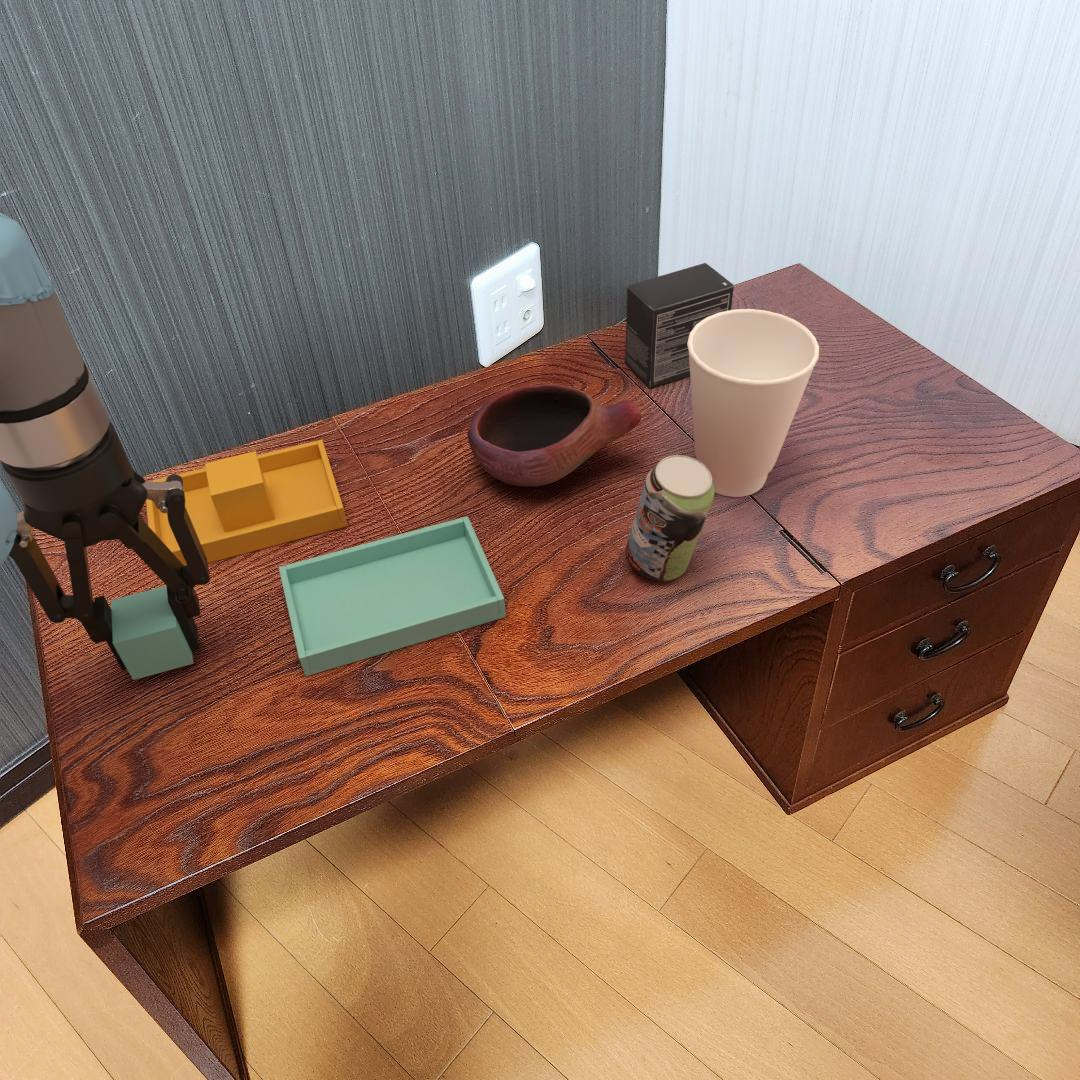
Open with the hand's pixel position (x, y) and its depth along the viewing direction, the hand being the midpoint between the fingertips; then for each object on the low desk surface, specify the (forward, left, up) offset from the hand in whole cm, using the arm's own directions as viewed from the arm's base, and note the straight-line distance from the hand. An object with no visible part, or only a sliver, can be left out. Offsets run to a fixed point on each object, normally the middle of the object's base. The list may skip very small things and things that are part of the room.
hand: (160, 647), depth 81 cm
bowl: (+40, +12, -2) cm, 42 cm away
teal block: (0, 0, 0) cm, 0 cm away
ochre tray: (+9, +16, -2) cm, 18 cm away
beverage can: (+45, -6, -2) cm, 46 cm away
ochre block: (+9, +16, -1) cm, 18 cm away
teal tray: (+20, -1, -2) cm, 20 cm away
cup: (+57, +3, -2) cm, 57 cm away
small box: (+60, +23, -2) cm, 65 cm away
